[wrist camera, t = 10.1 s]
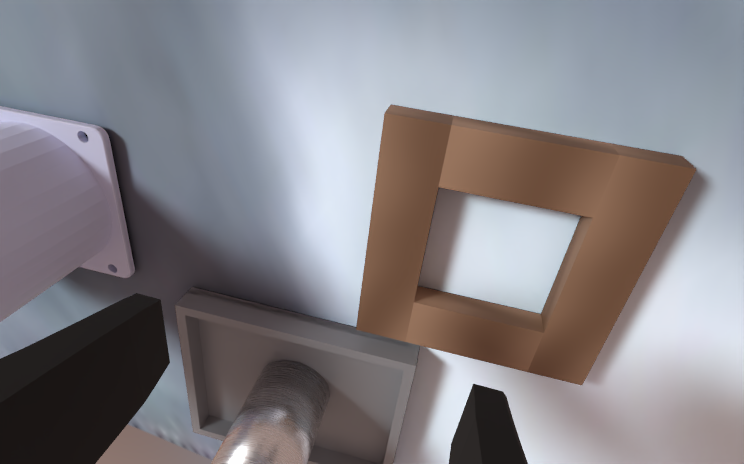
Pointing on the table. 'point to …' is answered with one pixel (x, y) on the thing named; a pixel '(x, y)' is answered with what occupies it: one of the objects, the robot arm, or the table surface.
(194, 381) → the tray
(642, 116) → the table surface
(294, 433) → the steel pin
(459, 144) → the socket block
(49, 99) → the table surface
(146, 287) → the table surface
